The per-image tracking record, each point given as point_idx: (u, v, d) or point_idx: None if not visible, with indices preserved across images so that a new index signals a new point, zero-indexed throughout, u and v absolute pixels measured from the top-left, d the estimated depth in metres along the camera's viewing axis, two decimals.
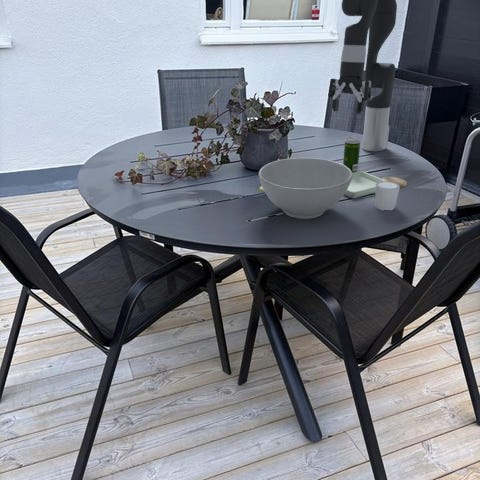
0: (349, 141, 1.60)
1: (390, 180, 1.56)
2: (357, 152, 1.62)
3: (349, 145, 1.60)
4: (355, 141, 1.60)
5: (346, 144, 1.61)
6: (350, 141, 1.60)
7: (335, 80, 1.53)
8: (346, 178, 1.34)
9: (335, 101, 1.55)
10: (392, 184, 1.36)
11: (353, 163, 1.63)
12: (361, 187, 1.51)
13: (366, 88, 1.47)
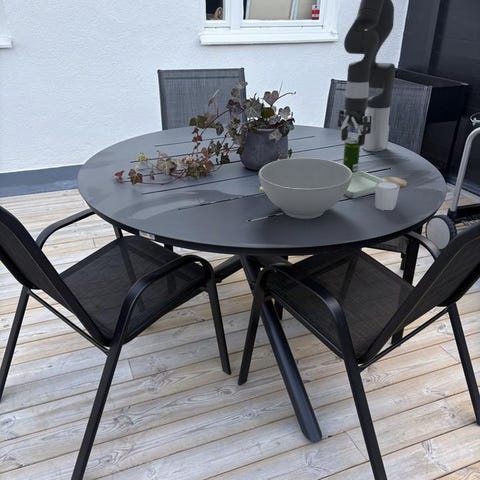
0: (349, 141, 1.60)
1: (390, 180, 1.56)
2: (357, 152, 1.62)
3: (349, 145, 1.60)
4: (355, 141, 1.60)
5: (346, 144, 1.61)
6: (350, 141, 1.60)
7: (343, 111, 1.61)
8: (346, 178, 1.34)
9: (343, 131, 1.63)
10: (392, 184, 1.36)
11: (353, 163, 1.63)
12: (361, 187, 1.51)
13: (364, 123, 1.53)
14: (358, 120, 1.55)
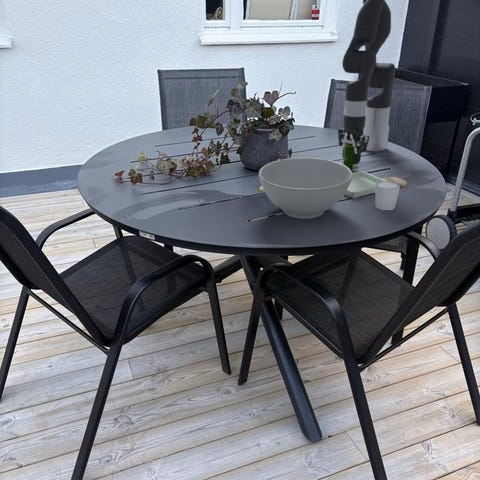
0: (349, 141, 1.60)
1: (390, 180, 1.56)
2: None
3: (349, 145, 1.60)
4: None
5: (346, 144, 1.61)
6: (350, 141, 1.60)
7: (342, 130, 1.65)
8: (346, 178, 1.34)
9: None
10: (392, 184, 1.36)
11: (353, 163, 1.63)
12: (361, 187, 1.51)
13: (361, 143, 1.56)
14: (356, 139, 1.58)
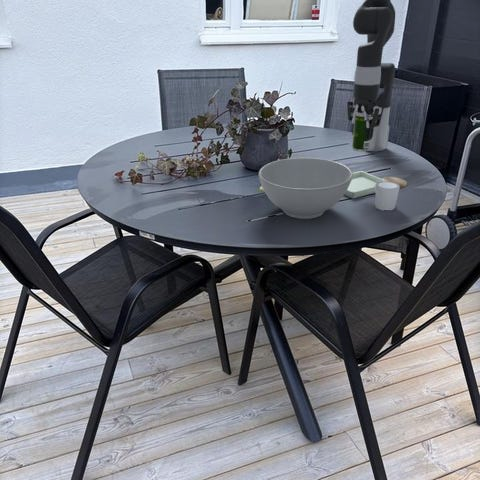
0: (360, 114, 1.41)
1: (390, 180, 1.56)
2: None
3: (360, 119, 1.41)
4: None
5: (357, 118, 1.42)
6: (361, 114, 1.40)
7: (352, 102, 1.45)
8: (346, 178, 1.34)
9: None
10: (392, 184, 1.36)
11: (364, 139, 1.43)
12: (361, 187, 1.51)
13: (374, 115, 1.37)
14: (368, 111, 1.39)
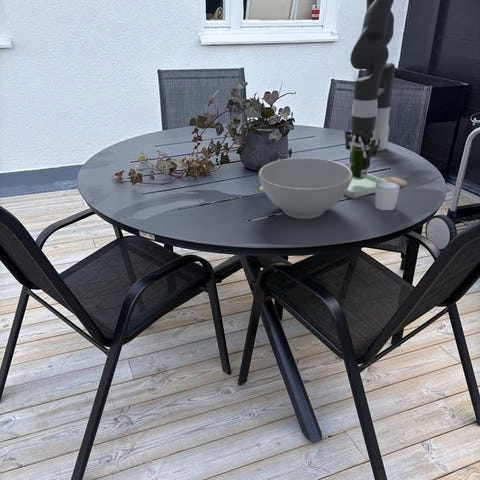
0: (357, 144, 1.45)
1: (390, 180, 1.56)
2: None
3: (357, 149, 1.45)
4: None
5: (354, 147, 1.46)
6: (358, 144, 1.45)
7: (349, 132, 1.50)
8: (346, 178, 1.34)
9: (351, 154, 1.51)
10: (392, 184, 1.36)
11: (361, 168, 1.48)
12: (361, 187, 1.51)
13: (371, 146, 1.41)
14: (365, 142, 1.43)
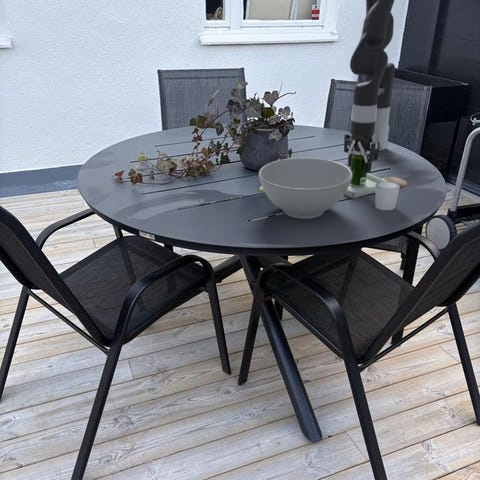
0: (357, 152, 1.46)
1: (390, 180, 1.56)
2: None
3: (357, 156, 1.47)
4: None
5: (353, 155, 1.48)
6: (358, 152, 1.46)
7: (349, 136, 1.50)
8: (346, 178, 1.34)
9: (349, 157, 1.52)
10: (392, 184, 1.36)
11: (361, 176, 1.49)
12: (361, 187, 1.51)
13: (371, 150, 1.42)
14: (365, 146, 1.44)
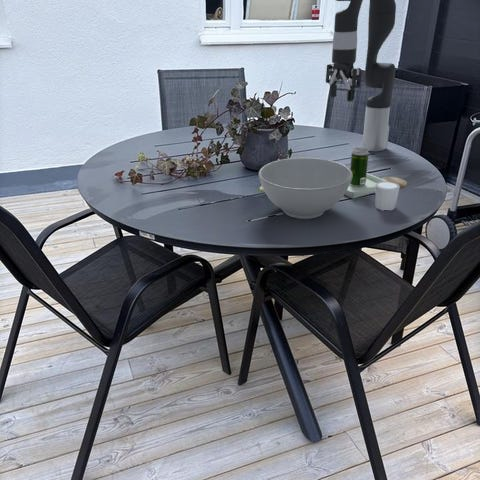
0: (356, 152, 1.46)
1: (390, 180, 1.56)
2: (365, 164, 1.48)
3: (356, 157, 1.47)
4: (363, 152, 1.46)
5: (353, 156, 1.48)
6: (357, 152, 1.46)
7: (331, 66, 1.53)
8: (346, 178, 1.34)
9: (331, 87, 1.55)
10: (392, 184, 1.36)
11: (360, 176, 1.49)
12: (361, 187, 1.51)
13: (353, 76, 1.44)
14: (347, 73, 1.47)
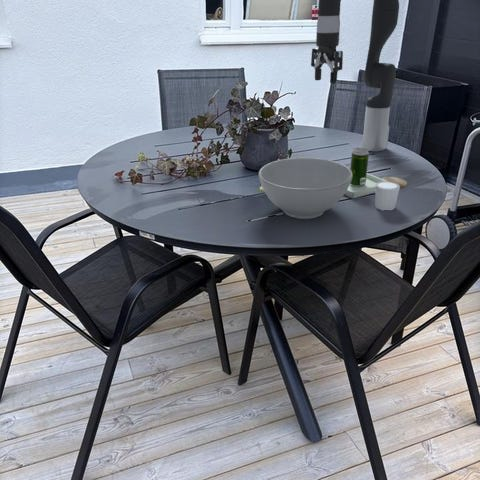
0: (357, 152, 1.46)
1: (390, 180, 1.56)
2: (365, 164, 1.48)
3: (357, 157, 1.47)
4: (363, 152, 1.46)
5: (353, 156, 1.48)
6: (358, 152, 1.46)
7: (316, 50, 1.60)
8: (346, 178, 1.34)
9: (316, 70, 1.62)
10: (392, 184, 1.36)
11: (361, 176, 1.49)
12: (361, 187, 1.51)
13: (335, 58, 1.51)
14: (330, 56, 1.54)
